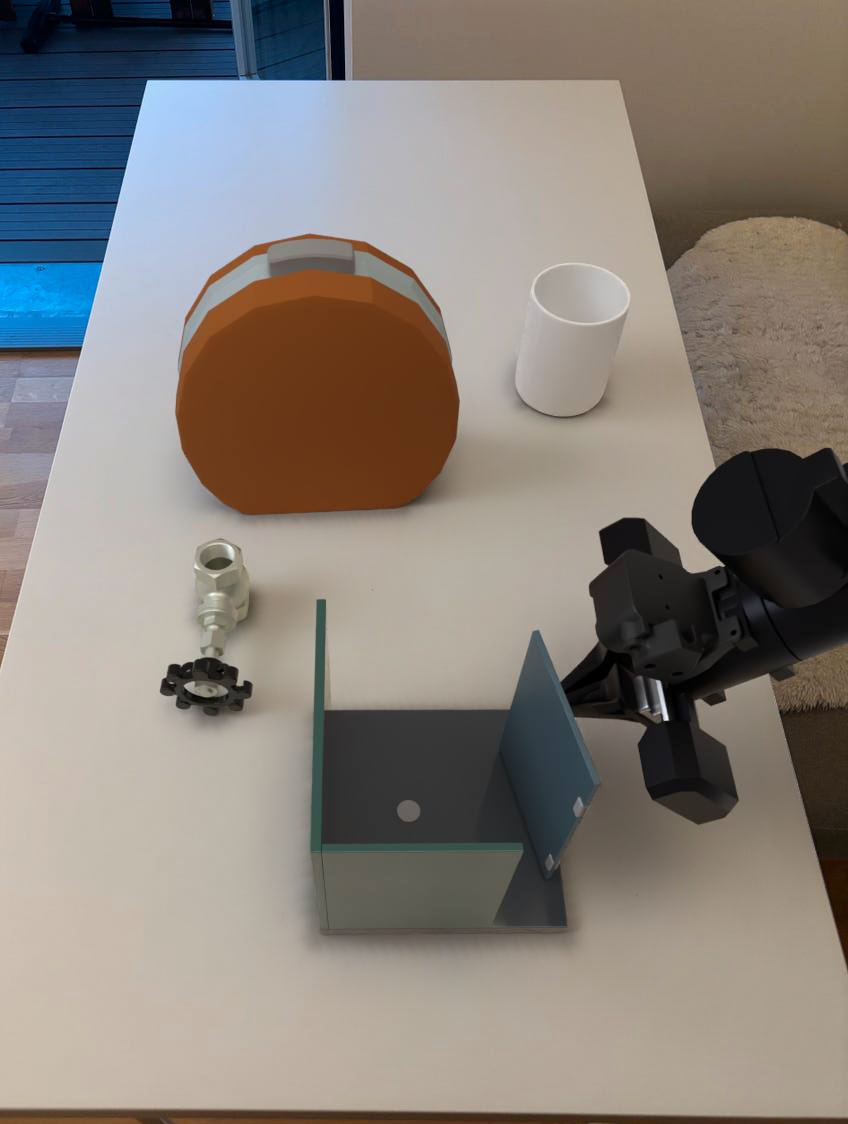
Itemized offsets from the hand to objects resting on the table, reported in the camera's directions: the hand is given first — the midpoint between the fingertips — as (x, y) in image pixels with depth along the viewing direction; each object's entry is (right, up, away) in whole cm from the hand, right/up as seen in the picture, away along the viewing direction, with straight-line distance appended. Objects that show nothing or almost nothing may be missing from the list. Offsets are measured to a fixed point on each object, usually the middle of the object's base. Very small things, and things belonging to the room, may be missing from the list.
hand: (546, 708), depth 59 cm
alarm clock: (-16, +20, +23) cm, 34 cm away
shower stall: (-7, -8, +5) cm, 11 cm away
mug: (+7, +30, +30) cm, 43 cm away
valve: (-23, +4, +12) cm, 26 cm away
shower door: (0, -7, +3) cm, 8 cm away
